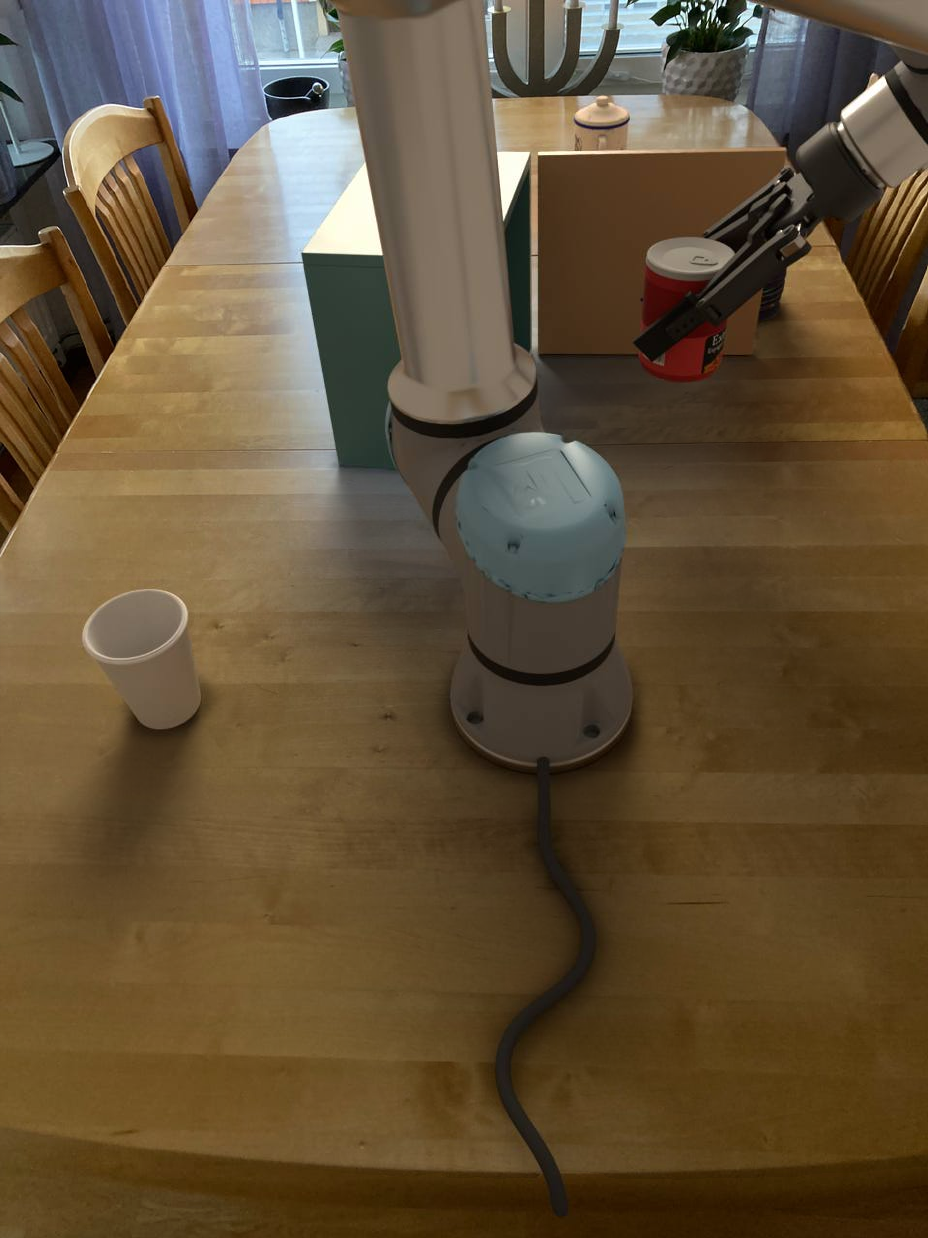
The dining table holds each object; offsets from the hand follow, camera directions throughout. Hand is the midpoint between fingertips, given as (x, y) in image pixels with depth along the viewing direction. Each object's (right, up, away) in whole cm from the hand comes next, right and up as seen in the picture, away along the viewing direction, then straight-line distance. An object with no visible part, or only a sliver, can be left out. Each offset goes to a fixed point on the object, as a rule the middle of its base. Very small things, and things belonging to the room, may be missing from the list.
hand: (646, 328), depth 93 cm
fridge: (-20, -2, +23) cm, 31 cm away
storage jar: (+20, +14, +36) cm, 43 cm away
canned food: (+4, -3, +2) cm, 5 cm away
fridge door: (+5, +8, +31) cm, 32 cm away
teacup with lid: (+5, +47, +70) cm, 85 cm away
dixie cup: (-43, -35, -8) cm, 57 cm away
